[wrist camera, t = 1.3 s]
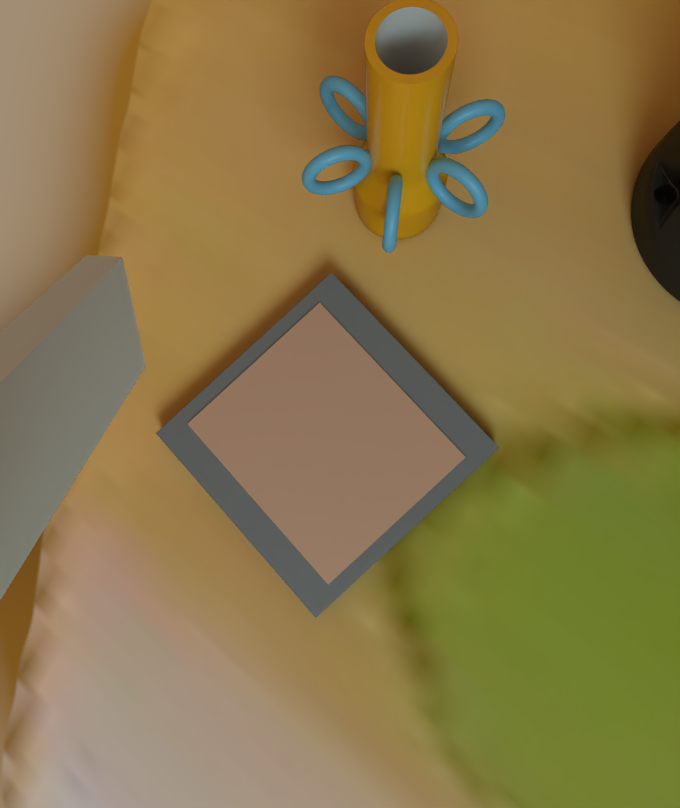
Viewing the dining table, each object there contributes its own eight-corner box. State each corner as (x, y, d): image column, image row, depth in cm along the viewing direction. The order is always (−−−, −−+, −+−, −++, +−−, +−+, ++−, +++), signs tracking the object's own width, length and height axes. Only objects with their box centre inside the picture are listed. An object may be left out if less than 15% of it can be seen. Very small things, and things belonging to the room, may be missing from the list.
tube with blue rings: (283, 205, 39) (226, 53, 24) (376, 94, 39) (376, -124, 25) (418, 311, 38) (446, 217, 23) (513, 195, 38) (602, 28, 23)
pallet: (333, 278, 38) (331, 271, 37) (495, 447, 37) (499, 447, 35) (163, 433, 38) (155, 433, 37) (317, 612, 36) (315, 618, 35)
